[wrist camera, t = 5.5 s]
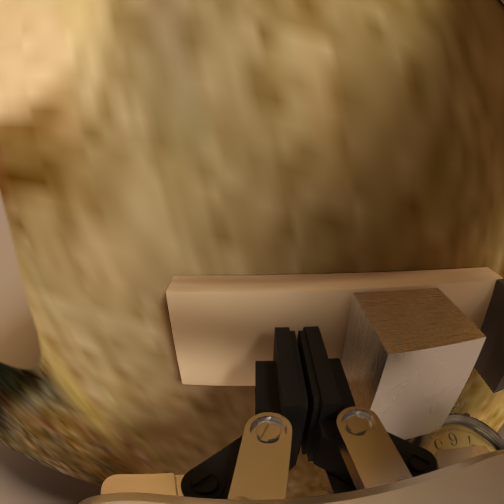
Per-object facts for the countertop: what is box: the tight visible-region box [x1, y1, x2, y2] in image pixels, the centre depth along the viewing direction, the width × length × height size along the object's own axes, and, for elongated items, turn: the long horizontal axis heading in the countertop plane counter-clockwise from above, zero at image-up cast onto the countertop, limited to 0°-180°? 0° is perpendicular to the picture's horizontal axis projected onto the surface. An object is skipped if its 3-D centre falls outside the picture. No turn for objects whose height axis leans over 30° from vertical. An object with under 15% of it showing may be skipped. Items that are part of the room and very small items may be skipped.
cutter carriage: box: [341, 288, 486, 440], centre depth 10 cm, size 5×5×4 cm
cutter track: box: [166, 267, 504, 393], centre depth 12 cm, size 5×17×4 cm, turn 91°
